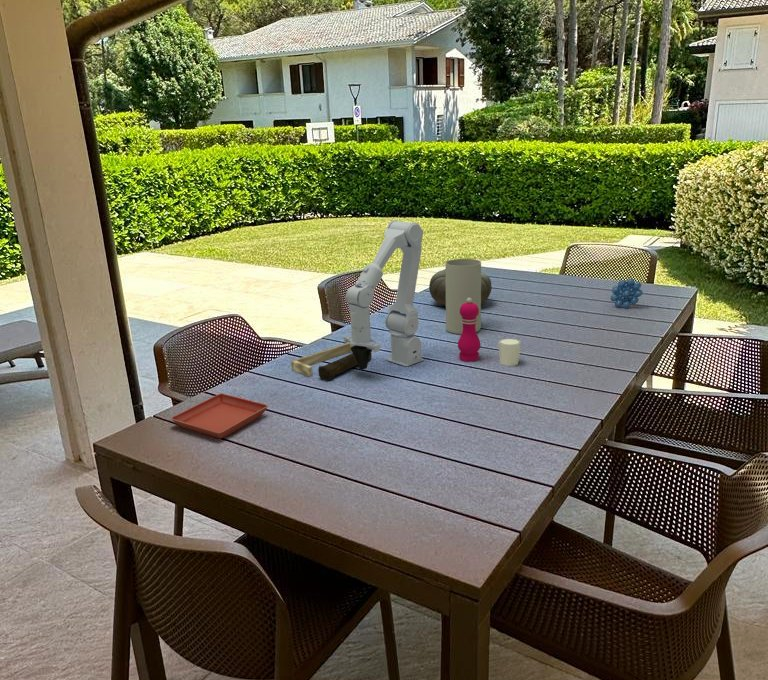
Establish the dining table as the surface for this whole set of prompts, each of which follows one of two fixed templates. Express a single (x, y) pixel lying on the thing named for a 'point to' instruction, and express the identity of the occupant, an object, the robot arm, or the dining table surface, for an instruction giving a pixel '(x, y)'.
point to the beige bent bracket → (318, 358)
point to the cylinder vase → (462, 291)
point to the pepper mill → (469, 332)
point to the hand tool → (337, 367)
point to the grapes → (626, 293)
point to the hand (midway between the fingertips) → (362, 368)
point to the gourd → (439, 287)
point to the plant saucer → (220, 415)
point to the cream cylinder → (509, 351)
